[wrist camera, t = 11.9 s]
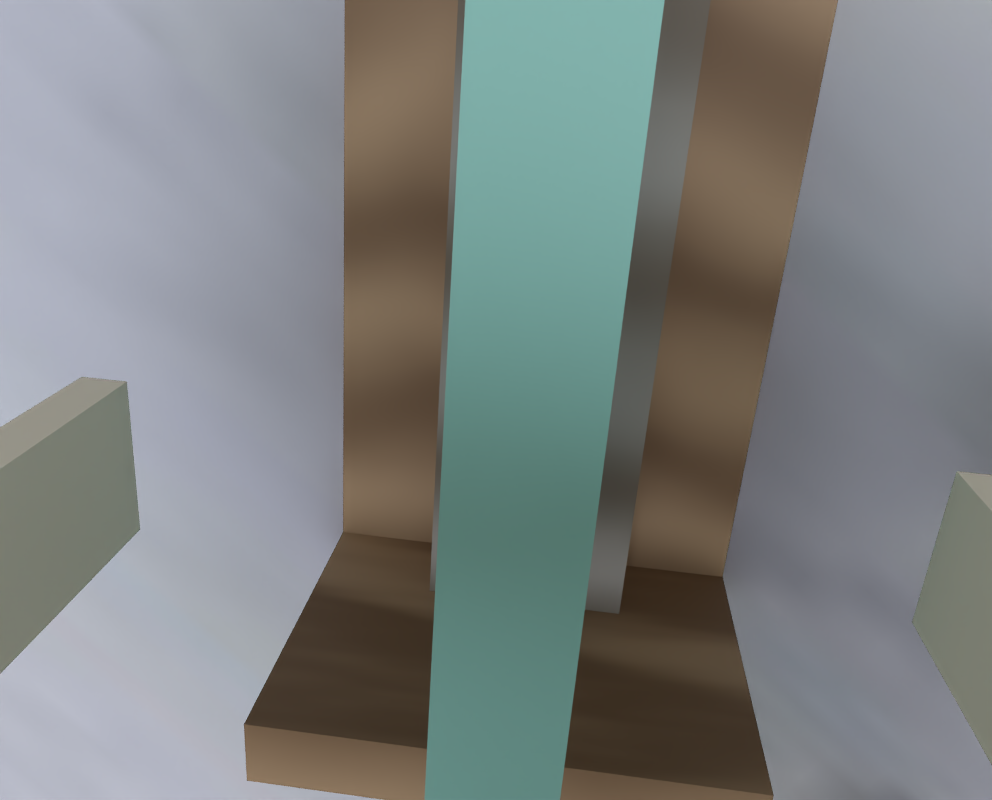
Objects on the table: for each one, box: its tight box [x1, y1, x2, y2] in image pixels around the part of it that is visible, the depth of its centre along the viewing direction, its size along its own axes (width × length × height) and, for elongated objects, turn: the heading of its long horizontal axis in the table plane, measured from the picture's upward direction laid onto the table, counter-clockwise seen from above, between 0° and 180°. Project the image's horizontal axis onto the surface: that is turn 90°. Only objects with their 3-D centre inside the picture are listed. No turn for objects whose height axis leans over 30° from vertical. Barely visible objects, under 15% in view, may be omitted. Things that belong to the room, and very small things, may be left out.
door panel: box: [424, 0, 665, 800], centre depth 21 cm, size 16×2×16 cm, turn 176°
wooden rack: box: [244, 0, 838, 800], centre depth 24 cm, size 26×14×12 cm, turn 176°
